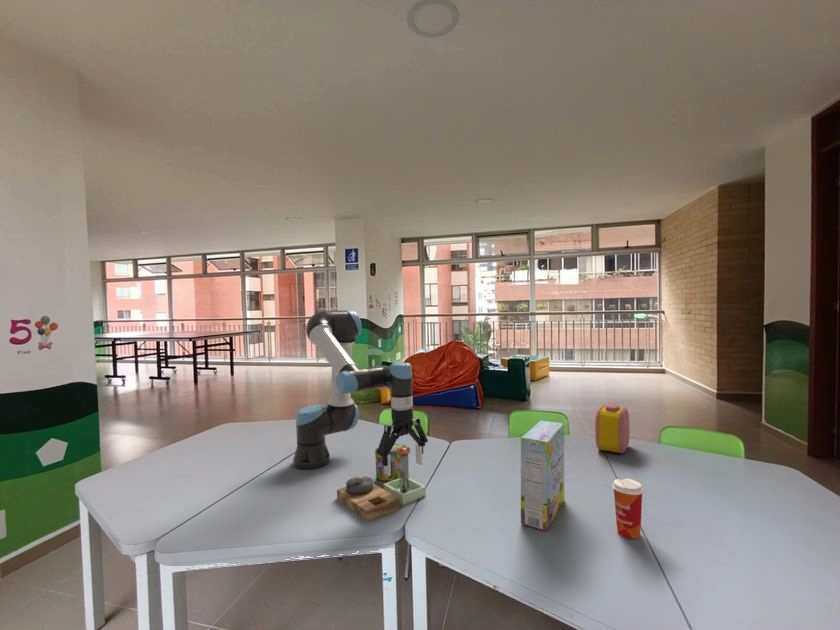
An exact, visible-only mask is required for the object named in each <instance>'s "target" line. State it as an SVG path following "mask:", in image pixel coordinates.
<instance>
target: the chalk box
mask: <svg viewBox="0 0 840 630" xmlns="http://www.w3.org/2000/svg"><path fill="white" fill-rule="evenodd" d="M399 447H406V444H399V443H396V442H395V444H394V446H393V447H392V449H391V451H390V453H389V456H390V464H391V476H388V475H386V474H384V465H383V464H382V456H380V455H378V454H377V450H378V447H377V448H375V451H374V452H375V472H376V473H375V476H376V479H375V480H377V481H384V482H385V481H386V482H390V481H393V480H396V479H399V478H400V476H399V454H398V453H397V448H399Z"/></svg>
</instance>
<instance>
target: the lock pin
mask: <svg viewBox="0 0 840 630" xmlns="http://www.w3.org/2000/svg"><path fill="white" fill-rule="evenodd" d="M397 453H398V454H399V476H400V492H401V493H403V494H405V493H407V492H409V478H410V476H409V474H410V473H409V469H410V468H409V454H410V453H411V448H410V447H408V446H405V447H399V448H397Z"/></svg>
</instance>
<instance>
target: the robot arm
mask: <svg viewBox="0 0 840 630" xmlns="http://www.w3.org/2000/svg"><path fill="white" fill-rule="evenodd" d="M362 325H363V324H362V321H361V318H360V316H359V314H358V313H357V312H356V311H354V310H346V309H345V310H322V311H321V310H320V311H318V312H316V313H314V314H313V315H312V316H311V317H309V319H308V321H307V323H306V326H305V327H306V328H305V332H306V335H307V338H308V340H309V342H310V343H311V344H312V345H315V346H316V347H317V348H318V349H319V351H320V352H321V354H322V355H323V357H324V358H325V359H326V361H327V363H328V364H329V365H330V367H331V382H330V383H331V386H330V387H331V388H330V389H331V390H330V398H329V399H328V400H327V406H324V405H323V404H315V405H314V404H313V405H308V406H305V407H303V408H301V409H299V410H298V411H297V413H296V414H295V424H296V425H295V427H296V448H295V452H294V455H293V458H292V466H293V467H294V468H295V469H300V470H314V469H317V468H321V467H325V466H326V465H329V463H330V461H331V455H330V451H329V450H328V449H329V448H328V446H327V444H326V436H328V435H332V434H333V435H334V434H337V433H341V432H346V431H349V430H352V429H354V428H355V427H356V426H357V425H358V422H359V419H360V412H359V407H358V405H357V404H356V403H355V400H354V399H353V398H352V397H351V396H352V395H351V394H354V393H359V392H365V391H369V390H370V391H371V390H377V389H382V388H383V389H384V388H387V389H390V407H391V410H390V414H391V420H392V423H391V424H390V425H389V424H385V425H383V426H384V427H383V432H382V436H381V438H380V442H379V445H378V447H377V448H378V450H377V454H378V455H380V456H382V464H383V465H384V474H386V475H388V476H391V464H390V456H389V453H390V451H391V449H392V447H393V446H394V444H395V443H396V441H397V440H399V438H400V437H403V436H405V435H406V436H407V435H410V436H411V438H412V439H413V441H415V442H416V444H415V463H416V464H417V465H420V466H422V465H423V454H424V447H425V446H426V444H427V443H428V442H429V441H428V438H427V435H426V434H425V431H424V429H423V427H422V425H421V419H420V418H417V417H414V408H413V406H414V402H413V401H414V400H413V396H414V395H413V369H412V365H411V363H409V362H393V363H391V364H390V365H389V366H388V365H384V364H383V365H376V366H374V367H370V368H369V367H368V368H363V369H362V368H361V369H360V368H359V366H358V365H357V364H356V363H355V361H354V360H353V346H354V344H355V343H356V342H357V338H358V337H360V336H361V333H362V330H363V329H362V328H363V327H362ZM413 425H414V429H415V430H414V429H413ZM415 431H416V432H417V433H416V432H415Z"/></svg>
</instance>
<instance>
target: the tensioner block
mask: <svg viewBox="0 0 840 630" xmlns="http://www.w3.org/2000/svg"><path fill="white" fill-rule="evenodd" d="M345 485H346V486H344V487H341V488H339V489H337V490H336V496H337V497H336V499H337V500H339V501H340V502H341V503H342V504H344V505H345V506H347V508H349V509H351V510H352V512H354V513H355V514H357V515H359V517H361V518H362V519H363V520H365V521H366V522H368V523H369V522H371V521H374V520H376V519H379V518H381V517H383V516H386V515H388V514H390V513H392V512H395V511H398V510H400V509H401V503H400V499H399V498H397V497H395V496H394V495H392V494H390V493H389V492H387V491H385V490H384V488H381V486H379V485H377V484H376V483H374V481H373V478H371V477H368V476H362V475H359V476H356V477H351V478H349V479H348V480H347V481H346V482H345ZM385 514H386V515H385Z"/></svg>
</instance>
